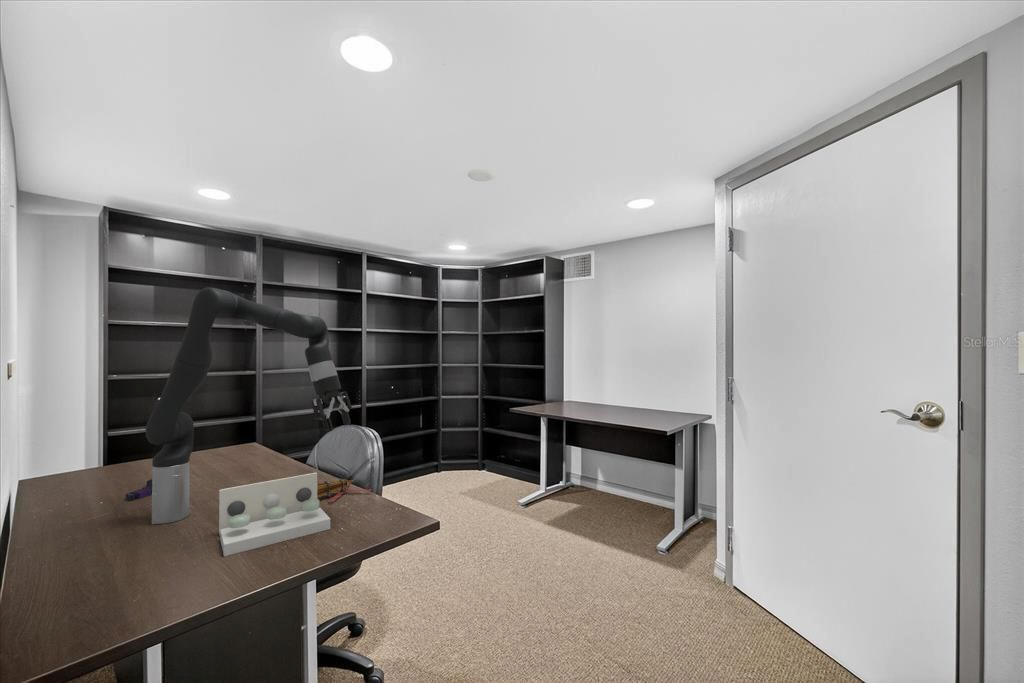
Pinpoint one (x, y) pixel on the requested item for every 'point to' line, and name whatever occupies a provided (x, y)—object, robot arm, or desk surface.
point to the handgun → (140, 492)
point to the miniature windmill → (334, 488)
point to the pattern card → (266, 497)
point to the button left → (239, 521)
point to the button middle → (276, 512)
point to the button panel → (273, 531)
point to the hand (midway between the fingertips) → (338, 427)
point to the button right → (310, 505)
